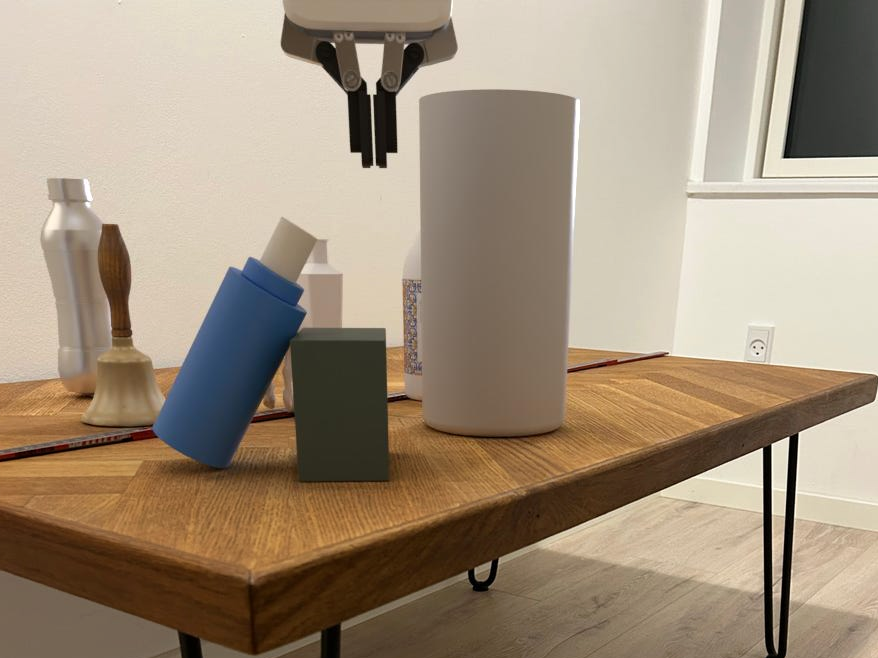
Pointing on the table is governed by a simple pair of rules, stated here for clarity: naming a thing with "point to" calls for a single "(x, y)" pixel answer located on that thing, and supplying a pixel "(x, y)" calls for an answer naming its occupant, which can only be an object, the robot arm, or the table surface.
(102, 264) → the hand bell
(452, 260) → the cylinder vase
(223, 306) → the blue bottle
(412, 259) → the bath foam
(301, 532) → the table surface
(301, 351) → the green block
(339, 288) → the perfume bottle
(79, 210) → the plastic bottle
